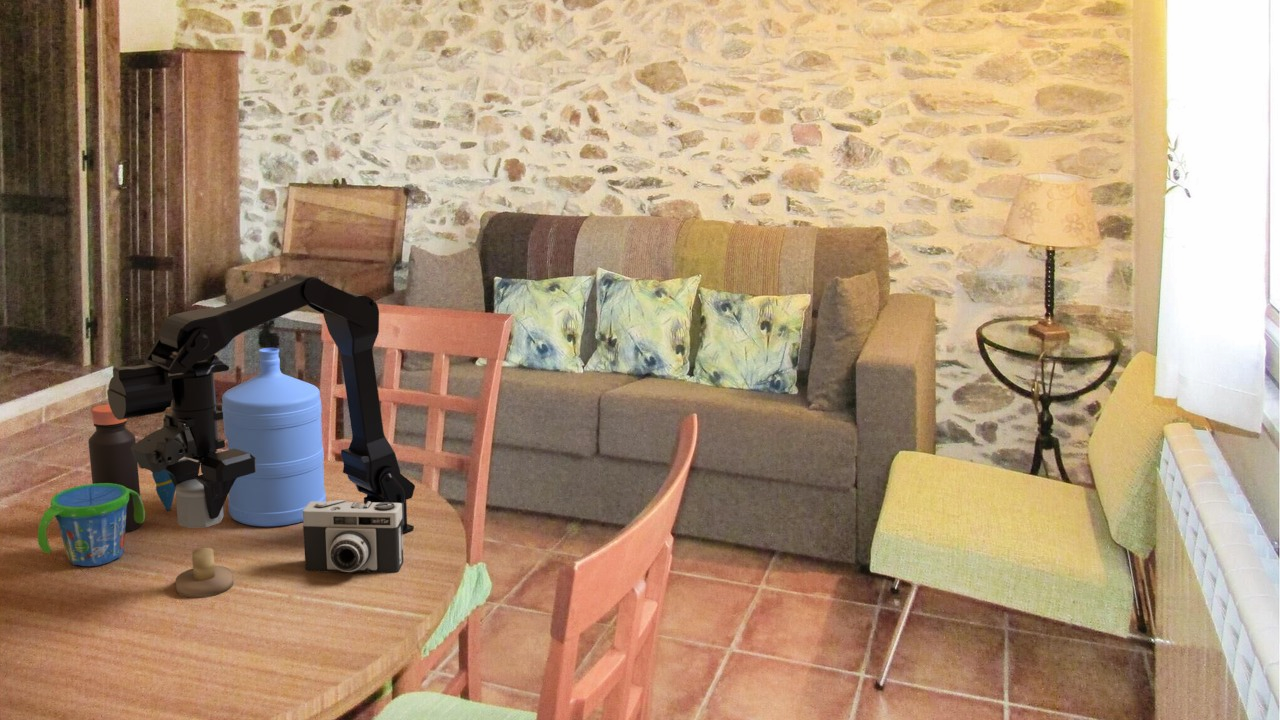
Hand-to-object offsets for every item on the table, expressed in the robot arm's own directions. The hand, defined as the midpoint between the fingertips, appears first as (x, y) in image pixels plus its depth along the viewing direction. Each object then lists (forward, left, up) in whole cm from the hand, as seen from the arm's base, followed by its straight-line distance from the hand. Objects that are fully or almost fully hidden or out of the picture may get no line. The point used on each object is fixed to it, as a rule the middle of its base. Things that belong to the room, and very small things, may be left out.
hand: (200, 513), depth 156 cm
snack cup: (+4, -22, -11) cm, 25 cm away
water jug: (-25, -17, -11) cm, 32 cm away
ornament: (-14, -32, -11) cm, 37 cm away
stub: (0, 0, -11) cm, 11 cm away
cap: (0, 0, -1) cm, 1 cm away
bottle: (-5, -31, -11) cm, 33 cm away
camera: (-16, +12, -11) cm, 23 cm away
